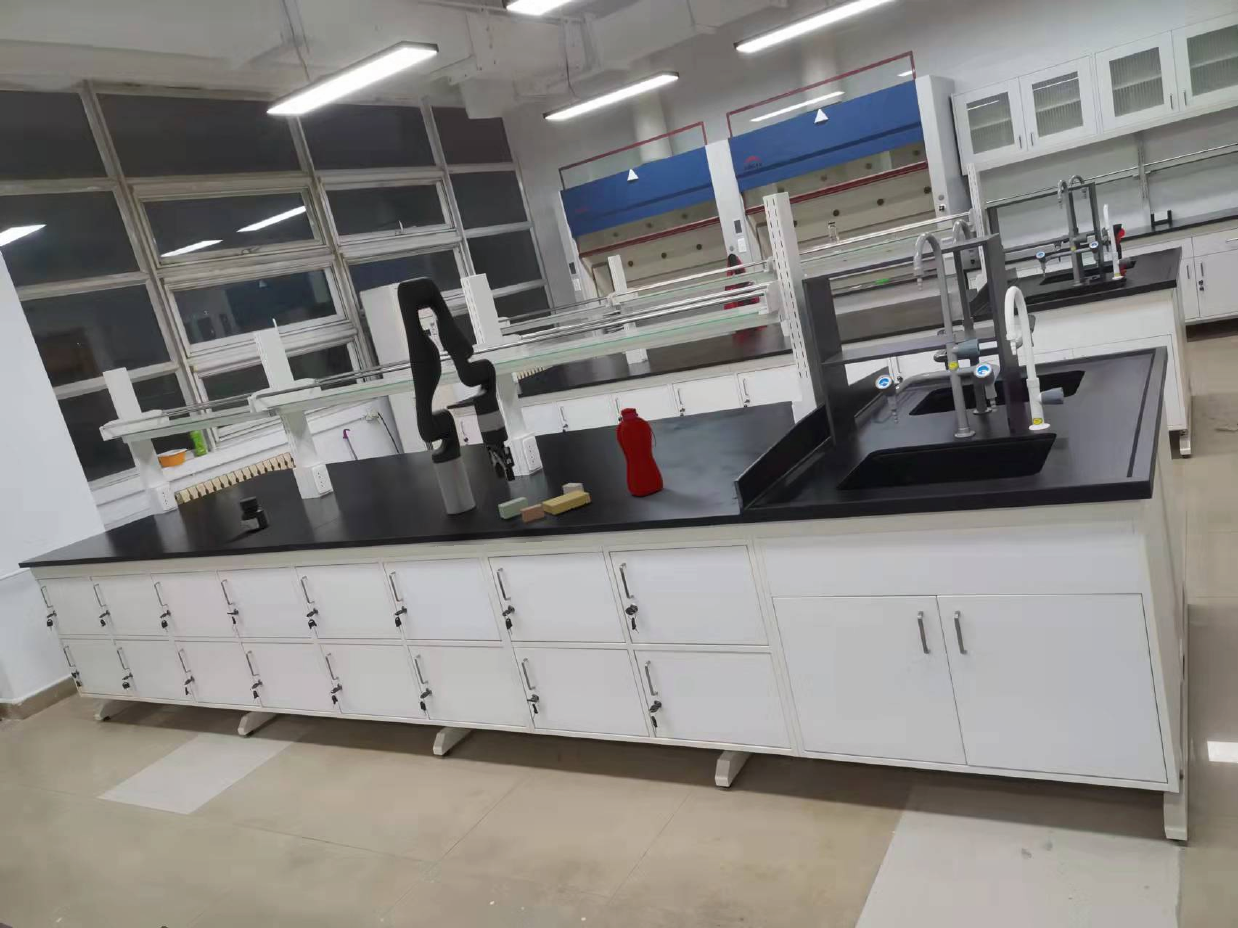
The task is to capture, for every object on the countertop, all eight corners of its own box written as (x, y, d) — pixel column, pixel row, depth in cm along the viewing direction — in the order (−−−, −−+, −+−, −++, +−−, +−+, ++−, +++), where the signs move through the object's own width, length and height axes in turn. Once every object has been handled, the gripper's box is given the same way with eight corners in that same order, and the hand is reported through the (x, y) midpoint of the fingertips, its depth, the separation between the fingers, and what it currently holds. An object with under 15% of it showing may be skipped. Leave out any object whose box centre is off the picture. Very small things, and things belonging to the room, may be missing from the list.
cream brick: (565, 496, 267) (562, 486, 266) (572, 493, 269) (569, 483, 268) (577, 497, 263) (574, 486, 262) (584, 494, 265) (581, 483, 264)
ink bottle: (240, 533, 327) (230, 503, 324) (260, 525, 334) (250, 495, 331) (254, 533, 321) (244, 502, 318) (275, 524, 328) (265, 494, 325)
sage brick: (501, 517, 260) (497, 505, 260) (525, 509, 264) (521, 496, 263) (505, 519, 257) (502, 506, 256) (530, 511, 260) (526, 498, 259)
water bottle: (673, 486, 248) (654, 403, 243) (640, 498, 244) (621, 413, 239) (657, 483, 257) (639, 401, 251) (626, 494, 252) (606, 412, 247)
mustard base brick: (544, 512, 256) (541, 502, 255) (580, 499, 261) (577, 490, 260) (554, 516, 249) (552, 506, 248) (591, 503, 254) (588, 493, 253)
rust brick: (524, 522, 248) (521, 511, 247) (523, 520, 251) (520, 509, 250) (544, 517, 249) (541, 505, 249) (543, 514, 252) (540, 503, 251)
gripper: (472, 430, 259) (487, 481, 262) (488, 431, 246) (503, 485, 250) (495, 422, 262) (509, 473, 266) (512, 424, 250) (526, 477, 253)
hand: (506, 479), depth 258 cm, fingers open, 8 cm apart
